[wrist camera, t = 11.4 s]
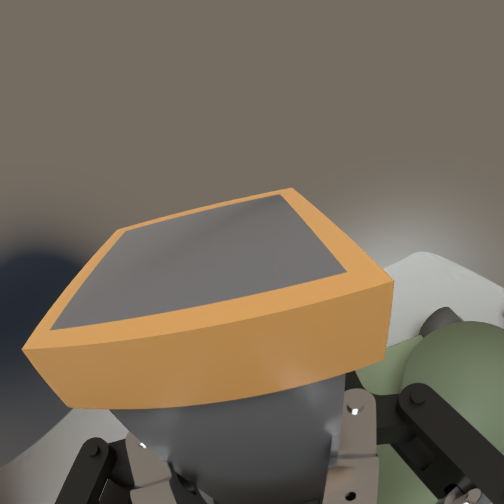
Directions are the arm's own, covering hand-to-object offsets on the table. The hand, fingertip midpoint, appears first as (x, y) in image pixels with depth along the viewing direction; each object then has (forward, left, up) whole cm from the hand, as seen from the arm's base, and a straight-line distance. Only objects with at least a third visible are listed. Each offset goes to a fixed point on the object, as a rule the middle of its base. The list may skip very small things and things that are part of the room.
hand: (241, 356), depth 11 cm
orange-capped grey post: (0, -3, -8) cm, 8 cm away
